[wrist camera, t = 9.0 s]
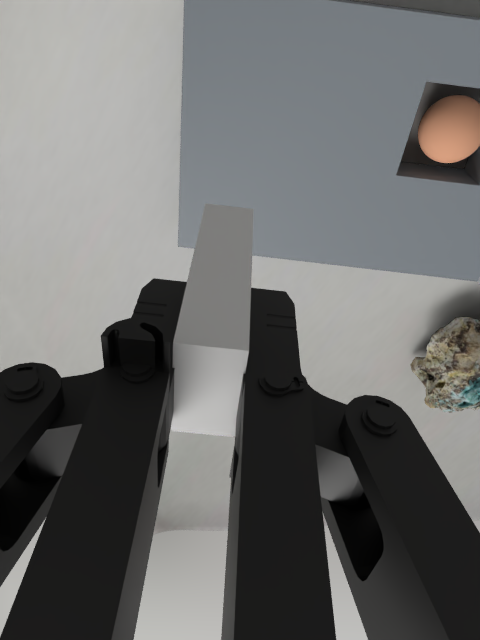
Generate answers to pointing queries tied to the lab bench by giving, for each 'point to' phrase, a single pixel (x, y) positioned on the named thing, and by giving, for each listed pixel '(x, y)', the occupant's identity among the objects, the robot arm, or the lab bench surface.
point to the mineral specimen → (452, 366)
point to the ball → (450, 129)
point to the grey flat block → (327, 132)
